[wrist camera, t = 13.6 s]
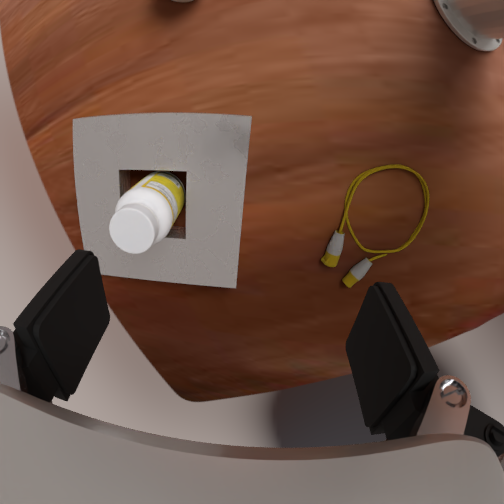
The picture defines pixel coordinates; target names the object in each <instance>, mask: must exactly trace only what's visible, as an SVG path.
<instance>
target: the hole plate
mask: <svg viewBox="0 0 504 504" xmlns="http://www.w3.org/2000/svg"><path fill="white" fill-rule="evenodd" d="M251 119H252V116H247V115H235V114H218V113H192V112H154V113H128V114H112V115H100V116H90V117H83V118H77V119H73V154H74V172H75V185H76V195H77V205H78V213H79V221H80V228H81V234H82V240H83V246H84V250H87V251H92V252H93V253H94V256H97V258H98V261H99V267H100V272H101V274H102V275H110V276H118V277H127V278H135V279H144V280H153V281H163V282H172V283H182V284H193V285H204V286H215V287H227V288H236V282H237V270H238V258H239V246H240V235H241V223H242V212H243V201H244V191H245V180H246V169H247V159H248V149H249V138H250V128H251ZM130 170H165V171H187V181H186V227H179V226H172V228H171V229H170V231H169V233H168V234H167V236H166V237H165V238H164V239H163V240H162V241H160V242H159V243H157V244H154V245H152V246H151V247H150V248H149V249H148V250H147V251H145V252H143V253H139V254H131V253H127V252H125V251H123V250H121V249H120V248H119V247H118V246H117V245H116V244H115V243H114V242H113V240H112V238H111V235H110V231H109V225H110V221H111V218H112V216H113V215H114V214H115V208H116V205H117V203H118V201H119V199H120V198H121V197H122V196H123V195H124V194H125V193H126V192H127V191H128V190H129V189H131V184H130Z"/></svg>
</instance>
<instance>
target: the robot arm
mask: <svg viewBox="0 0 504 504" xmlns="http://www.w3.org/2000/svg"><path fill="white" fill-rule="evenodd" d="M434 2H435V5H436V7H437V9H438V11H439V13H440V15H441V16H442V18H443V19H444V21H445V22H446V24H447V25H448V26H449V27H450V29H451V30H452V31H453V32H454V33H455V34H456V35H457V36H458V37H459V38H460V39H461V40H462V41H463V42H464V43H466V44H467V45H469V46H470V47H472V48H474V49H477V50H480V51H492V50H495V49H497V48H498V47H499V46H500V44H501V42H502V39H503V38H504V0H434ZM109 321H110V314H109V310H108V305H107V301H106V297H105V292H104V287H103V283H102V278H101V272H100V267H99V261H98V258H97V256H94V253H93V252H92V251H87V250H76V251H75V252H74V253H73V254H72V255H71V256H70V257H69V258H68V259H67V260H66V261H65V263H64V264H63V265H62V266H61V267H60V268H59V269H58V270H57V271H56V272H55V274H54V275H53V276H52V277H51V278H50V279H49V280H48V281H47V283H46V284H45V285H44V286H43V287H42V288H41V290H40V291H39V292H38V293H37V294H36V296H35V297H34V298H33V299H32V300H31V302H30V303H29V304H28V305H27V307H26V308H25V309H24V310H23V312H22V313H21V314H20V315H19V317H18V318H17V319H16V321H15V322H14V326H15V328H16V329H15V331H14V332H12V331H11V330H10V329H9V328H7V327H3V326H0V504H504V426H503V425H502V424H501V423H499V422H498V421H496V420H494V419H493V418H491V417H490V416H488V415H486V414H484V413H483V412H481V411H480V410H478V409H476V408H475V407H473V406H471V405H470V404H471V395H470V391H469V389H468V388H467V386H466V385H465V384H464V383H463V382H462V381H461V380H460V379H458V378H457V377H454V376H449V375H446V376H442V377H441V378H438V376H437V373H438V372H439V369H438V367H437V365H436V362H435V360H434V359H433V356H432V355H431V353H430V351H429V348H428V347H427V345H426V343H425V341H424V339H423V337H422V335H421V333H420V331H419V329H418V328H417V326H416V324H415V322H414V320H413V318H412V317H411V315H410V313H409V311H408V310H407V308H406V306H405V304H404V303H403V301H402V299H401V297H400V296H399V294H398V292H397V291H396V289H395V287H394V286H393V284H392V283H384V282H376V283H375V284H374V285H373V286H370V287H369V289H368V291H367V294H366V296H365V299H364V301H363V304H362V306H361V309H360V311H359V313H358V316H357V318H356V321H355V323H354V325H353V327H352V330H351V332H350V334H349V337H348V339H347V341H346V352H347V356H348V359H349V363H350V366H351V370H352V374H353V378H354V382H355V385H356V389H357V393H358V397H359V401H360V405H361V409H362V414H363V418H364V422H365V425H366V426H367V427H369V428H370V431H371V435H374V434H381V433H385V434H386V438H387V439H386V440H385V441H381V442H372V443H364V444H355V445H344V446H332V447H314V448H313V447H312V448H264V447H244V446H230V445H220V444H211V443H203V442H195V441H189V440H182V439H176V438H171V437H165V436H160V435H156V434H151V433H146V432H142V431H137V430H133V429H129V428H125V427H121V426H118V425H114V424H110V423H107V422H104V421H100V420H97V419H94V418H91V417H88V416H85V415H82V414H79V413H76V412H73V411H70V410H67V409H65V408H62V407H59V406H57V405H54V404H52V399H53V397H54V396H55V397H57V398H59V399H62V400H64V401H68V399H69V396H70V394H71V395H72V394H74V393H75V391H76V389H77V387H78V385H79V383H80V381H81V378H82V376H83V374H84V372H85V370H86V368H87V366H88V364H89V362H90V360H91V358H92V355H93V353H94V352H95V350H96V348H97V346H98V344H99V342H100V340H101V338H102V336H103V334H104V332H105V330H106V328H107V326H108V324H109Z"/></svg>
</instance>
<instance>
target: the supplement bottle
mask: <svg viewBox="0 0 504 504" xmlns="http://www.w3.org/2000/svg"><path fill="white" fill-rule="evenodd" d="M185 198H186V193H185V189H184V186H183V184H182V182H181V181H180V180H179V178H178V177H176V176H175V175H174V174H172V173H170V172H166V171H156V172H153V173H150V174H149V175H147V176H146V177H144V178H143V179H142V180H140V181H139V182H138V183H137V184H136V185H134V186H133V187H132V188H131V189H129V190H128V191H127V192H126V193H125V194H124V195H123V196H122V197H121V198H120V199H119V201H118V203H117V205H116V208H115V214H114V215H113V216H112V218H111V221H110V225H109V231H110V235H111V238H112V240H113V242H114V243H115V244H116V245H117V246H118V247H119V248H120V249H121V250H123V251H125V252H127V253H131V254H139V253H143V252H145V251H147V250H148V249H149V248H150V247H151V246H152V245H154V244H157V243H159V242H160V241H162V240H163V239H164V238H165V237H166V236H167V234H168V233H169V231H170V229H171V228H172V226H173V224H174V222H175V220H176V219H177V217H178V215H179V213H180V212H181V210H182V208H183V206H184V203H185Z"/></svg>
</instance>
